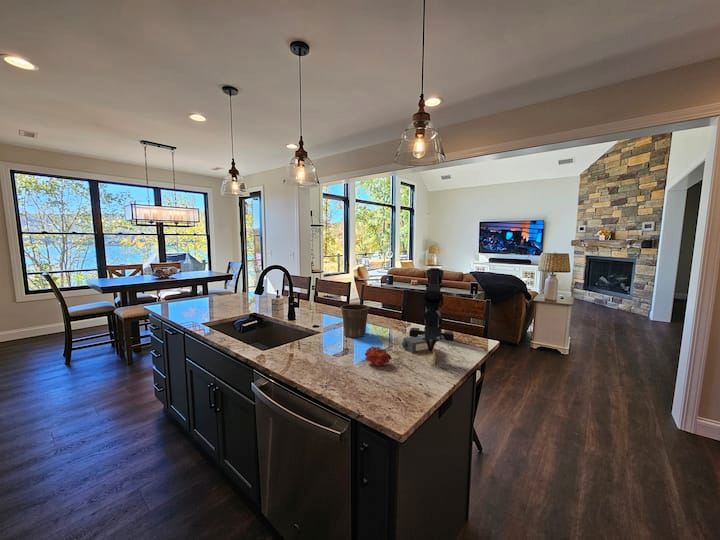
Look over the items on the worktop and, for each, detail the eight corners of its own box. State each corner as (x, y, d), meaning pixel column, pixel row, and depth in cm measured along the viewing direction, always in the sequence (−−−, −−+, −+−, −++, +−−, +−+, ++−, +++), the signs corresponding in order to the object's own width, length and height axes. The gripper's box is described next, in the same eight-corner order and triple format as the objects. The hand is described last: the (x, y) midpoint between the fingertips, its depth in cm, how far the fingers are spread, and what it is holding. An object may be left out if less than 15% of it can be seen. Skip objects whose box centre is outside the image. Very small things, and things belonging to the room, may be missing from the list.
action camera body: (423, 344, 153) (423, 334, 152) (432, 349, 145) (433, 338, 145) (401, 348, 147) (401, 337, 147) (410, 353, 140) (410, 342, 139)
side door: (432, 349, 145) (433, 338, 145) (435, 349, 145) (435, 339, 144) (432, 364, 127) (433, 352, 127) (435, 364, 127) (436, 352, 126)
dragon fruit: (363, 365, 130) (389, 373, 126) (359, 360, 123) (386, 368, 119) (369, 346, 134) (394, 354, 130) (366, 340, 127) (392, 348, 123)
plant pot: (343, 329, 177) (343, 303, 176) (370, 331, 175) (370, 304, 174) (337, 338, 161) (337, 309, 160) (367, 339, 159) (367, 310, 158)
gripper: (408, 320, 125) (406, 356, 126) (454, 324, 119) (452, 362, 120) (411, 315, 135) (410, 348, 136) (454, 318, 130) (452, 353, 131)
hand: (430, 353), depth 131 cm, fingers closed
